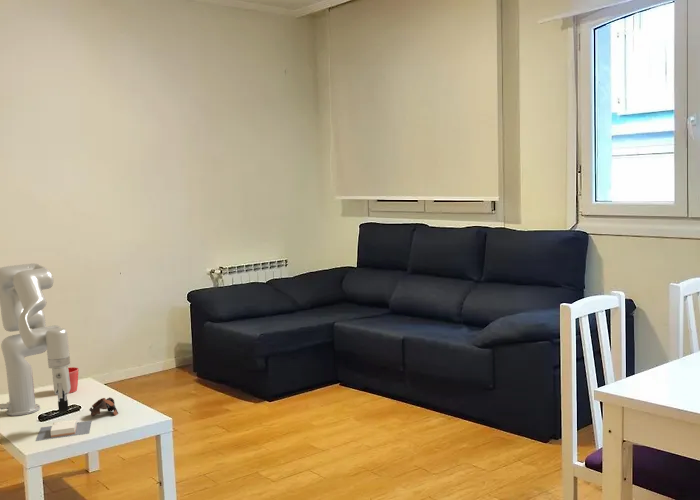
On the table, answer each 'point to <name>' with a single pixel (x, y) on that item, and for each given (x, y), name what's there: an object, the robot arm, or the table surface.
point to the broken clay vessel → (103, 406)
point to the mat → (80, 430)
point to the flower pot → (73, 379)
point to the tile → (63, 428)
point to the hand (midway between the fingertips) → (63, 410)
